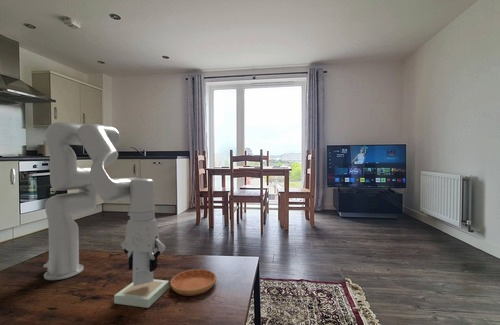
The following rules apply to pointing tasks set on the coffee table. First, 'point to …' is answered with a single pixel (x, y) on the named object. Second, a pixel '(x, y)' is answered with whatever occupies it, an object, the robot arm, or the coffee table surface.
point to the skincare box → (141, 268)
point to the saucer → (193, 282)
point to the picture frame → (141, 293)
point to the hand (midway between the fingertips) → (143, 268)
